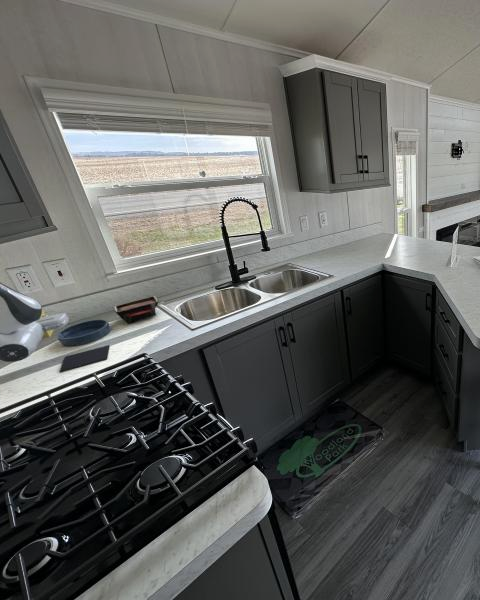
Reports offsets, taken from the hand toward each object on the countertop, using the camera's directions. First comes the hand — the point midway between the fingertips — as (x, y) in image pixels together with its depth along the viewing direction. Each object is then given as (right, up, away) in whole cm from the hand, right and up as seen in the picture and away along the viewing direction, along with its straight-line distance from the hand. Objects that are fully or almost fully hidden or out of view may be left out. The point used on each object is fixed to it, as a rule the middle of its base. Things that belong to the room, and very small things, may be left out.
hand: (35, 318), depth 127 cm
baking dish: (+12, -1, +37) cm, 39 cm away
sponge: (+1, -7, +2) cm, 7 cm away
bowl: (+1, -9, +20) cm, 22 cm away
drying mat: (+16, -16, +4) cm, 23 cm away
